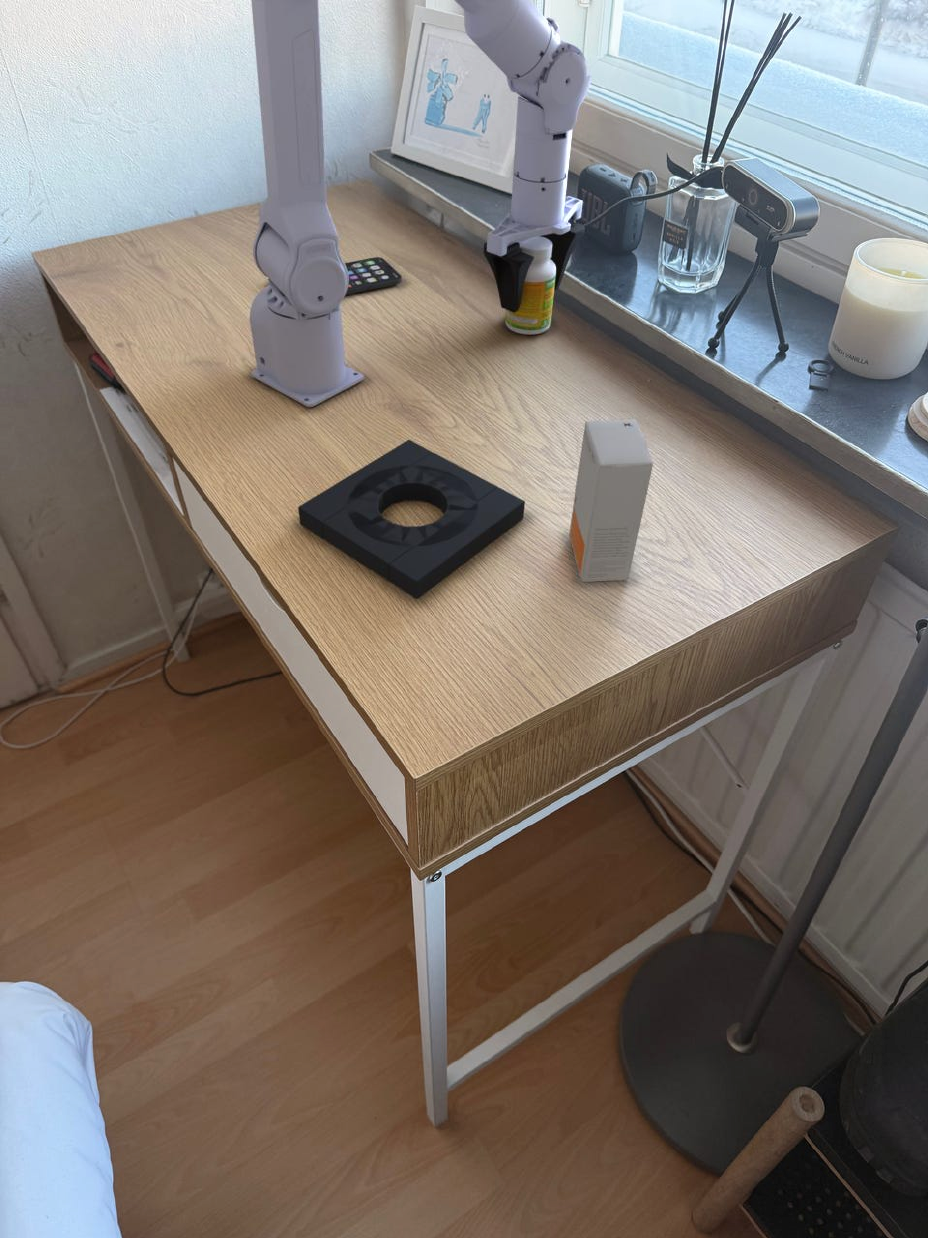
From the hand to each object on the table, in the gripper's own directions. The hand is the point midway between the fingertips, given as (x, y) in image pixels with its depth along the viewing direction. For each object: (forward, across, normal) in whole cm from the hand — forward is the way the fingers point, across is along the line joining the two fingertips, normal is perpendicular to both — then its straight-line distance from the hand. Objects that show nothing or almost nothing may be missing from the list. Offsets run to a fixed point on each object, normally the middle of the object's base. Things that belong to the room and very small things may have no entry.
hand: (530, 297), depth 101 cm
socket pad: (+3, -36, -15) cm, 39 cm away
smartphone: (+3, -8, +24) cm, 26 cm away
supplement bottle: (+3, 0, 0) cm, 3 cm away
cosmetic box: (+3, -29, -30) cm, 42 cm away
